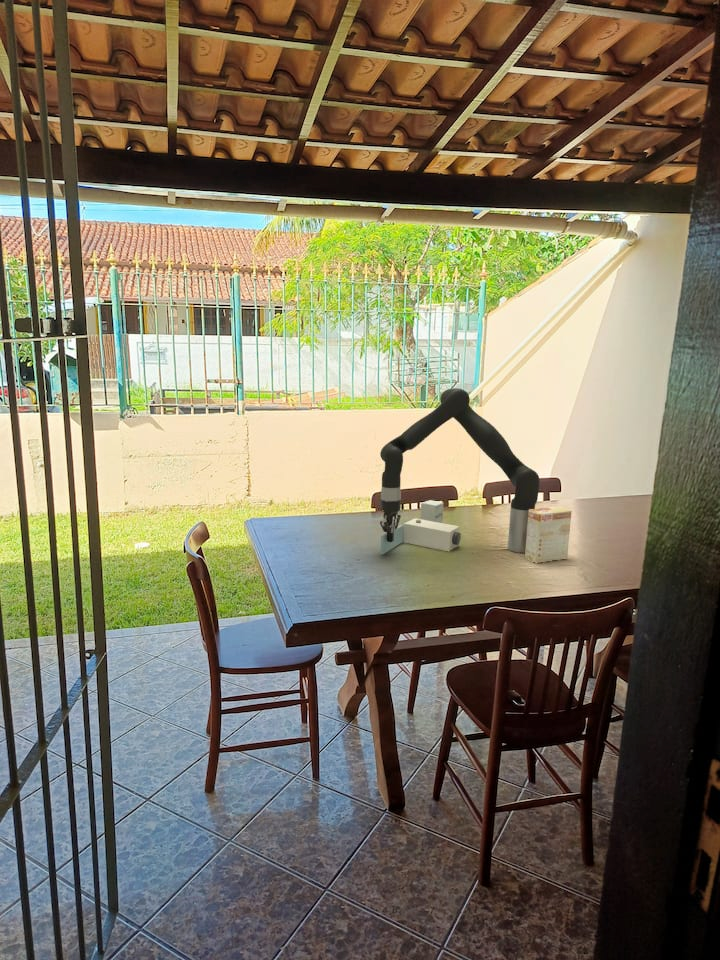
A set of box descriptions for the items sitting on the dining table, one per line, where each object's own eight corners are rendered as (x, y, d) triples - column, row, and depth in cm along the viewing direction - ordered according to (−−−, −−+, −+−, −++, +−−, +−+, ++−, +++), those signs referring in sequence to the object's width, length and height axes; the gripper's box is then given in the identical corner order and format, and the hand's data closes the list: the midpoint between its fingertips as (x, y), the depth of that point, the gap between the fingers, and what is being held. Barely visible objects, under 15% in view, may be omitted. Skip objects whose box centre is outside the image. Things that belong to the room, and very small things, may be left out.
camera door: (383, 554, 238) (383, 536, 236) (380, 554, 238) (380, 536, 236) (404, 541, 254) (404, 524, 252) (401, 540, 255) (402, 523, 253)
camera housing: (461, 546, 251) (463, 525, 249) (452, 552, 243) (453, 530, 241) (414, 536, 262) (415, 516, 260) (403, 542, 255) (404, 521, 253)
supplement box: (434, 534, 266) (435, 505, 263) (419, 530, 270) (420, 502, 268) (442, 530, 272) (444, 502, 269) (428, 527, 276) (429, 499, 273)
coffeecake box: (555, 553, 244) (560, 505, 240) (567, 559, 238) (572, 510, 234) (523, 557, 239) (527, 508, 235) (535, 564, 233) (539, 513, 228)
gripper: (390, 493, 243) (389, 535, 247) (373, 500, 232) (373, 544, 236) (407, 495, 239) (406, 538, 243) (391, 502, 228) (390, 548, 232)
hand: (390, 541), depth 239 cm, fingers closed
